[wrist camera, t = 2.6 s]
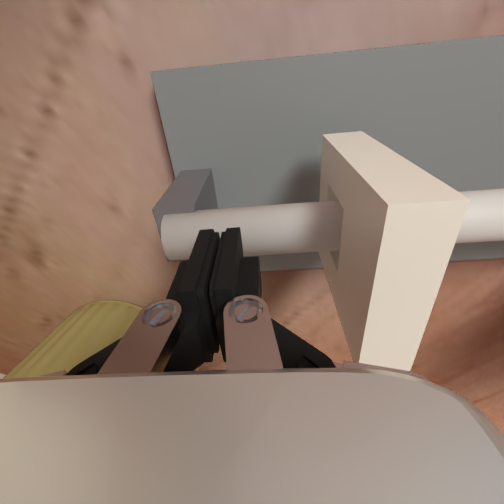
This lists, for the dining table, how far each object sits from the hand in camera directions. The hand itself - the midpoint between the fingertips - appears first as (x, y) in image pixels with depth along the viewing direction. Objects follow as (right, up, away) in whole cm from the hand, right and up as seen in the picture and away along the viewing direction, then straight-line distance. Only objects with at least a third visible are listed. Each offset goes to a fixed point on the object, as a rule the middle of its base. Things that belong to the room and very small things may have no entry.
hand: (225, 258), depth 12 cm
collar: (+6, +4, +4) cm, 8 cm away
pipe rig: (+11, +6, +7) cm, 15 cm away
